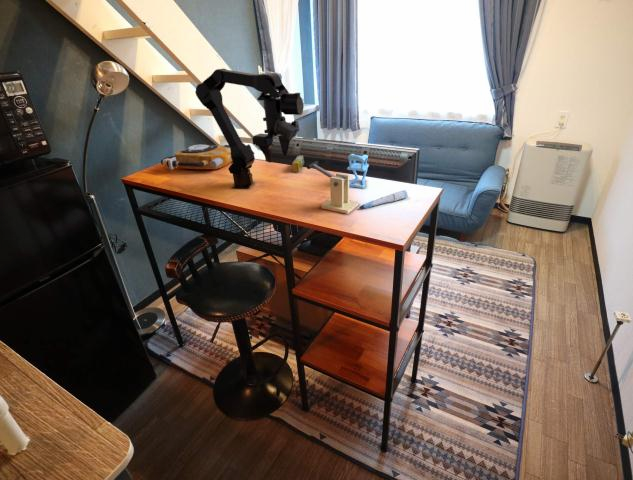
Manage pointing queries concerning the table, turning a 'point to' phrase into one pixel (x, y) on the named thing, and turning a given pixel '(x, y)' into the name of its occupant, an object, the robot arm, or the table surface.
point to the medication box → (298, 163)
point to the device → (200, 157)
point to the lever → (322, 170)
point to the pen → (386, 199)
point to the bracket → (339, 195)
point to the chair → (358, 168)
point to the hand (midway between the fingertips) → (277, 158)
